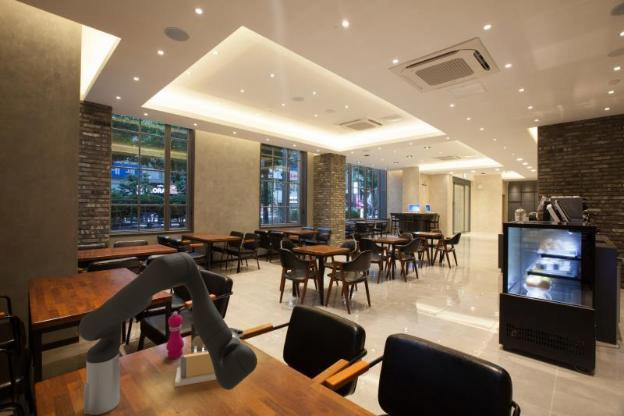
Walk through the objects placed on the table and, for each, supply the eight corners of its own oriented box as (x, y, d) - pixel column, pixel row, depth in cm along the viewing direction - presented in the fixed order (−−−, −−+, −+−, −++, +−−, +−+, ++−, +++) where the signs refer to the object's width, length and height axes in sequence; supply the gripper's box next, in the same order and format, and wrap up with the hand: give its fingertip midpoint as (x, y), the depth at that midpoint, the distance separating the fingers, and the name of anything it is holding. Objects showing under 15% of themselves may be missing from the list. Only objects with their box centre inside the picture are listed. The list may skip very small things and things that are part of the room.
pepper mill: (167, 352, 140) (167, 309, 139) (184, 350, 142) (184, 308, 141) (165, 360, 133) (165, 315, 132) (182, 358, 135) (183, 313, 134)
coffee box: (190, 359, 134) (190, 323, 133) (196, 352, 140) (197, 318, 140) (209, 360, 133) (210, 324, 132) (215, 353, 139) (216, 319, 139)
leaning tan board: (180, 378, 116) (180, 358, 116) (180, 374, 119) (180, 354, 119) (236, 369, 124) (236, 349, 123) (236, 365, 126) (236, 346, 126)
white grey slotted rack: (174, 386, 114) (175, 359, 114) (177, 371, 125) (177, 345, 124) (239, 375, 122) (239, 349, 122) (236, 361, 133) (237, 337, 132)
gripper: (250, 330, 94) (240, 316, 110) (205, 333, 89) (202, 318, 105) (248, 355, 94) (238, 337, 110) (203, 359, 89) (200, 340, 104)
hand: (220, 328), depth 107 cm, fingers closed
